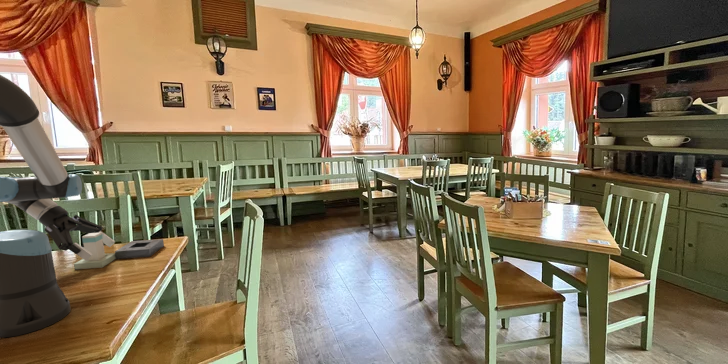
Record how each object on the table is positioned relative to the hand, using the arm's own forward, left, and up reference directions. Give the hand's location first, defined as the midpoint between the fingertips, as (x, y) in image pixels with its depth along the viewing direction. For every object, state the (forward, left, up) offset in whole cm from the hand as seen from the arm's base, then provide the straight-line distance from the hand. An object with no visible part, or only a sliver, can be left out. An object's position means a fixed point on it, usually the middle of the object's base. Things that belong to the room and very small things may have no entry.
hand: (101, 250), depth 125 cm
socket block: (+11, -7, -5) cm, 13 cm away
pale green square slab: (0, +2, -5) cm, 5 cm away
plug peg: (0, +2, -5) cm, 5 cm away
